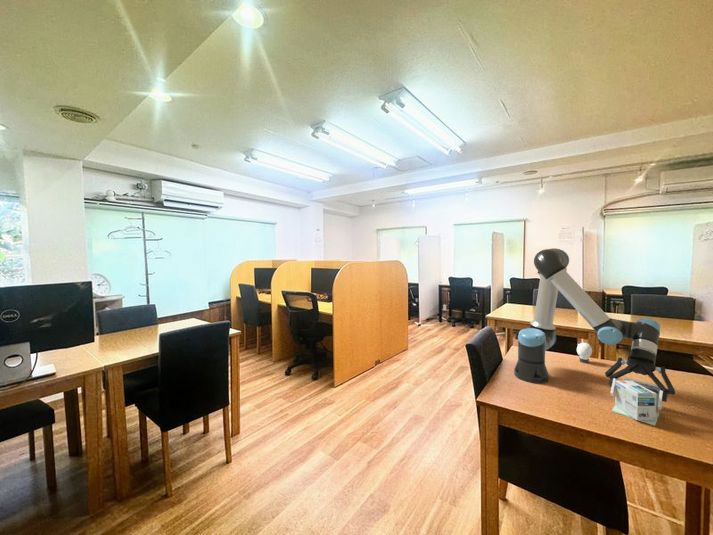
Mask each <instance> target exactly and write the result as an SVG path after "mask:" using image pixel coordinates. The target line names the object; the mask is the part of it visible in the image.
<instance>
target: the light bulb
mask: <svg viewBox="0 0 713 535" xmlns="http://www.w3.org/2000/svg"><path fill="white" fill-rule="evenodd" d="M576 352H577V355H578V356H579V362H580V363H583V364H589V362H590V357H591V356H592V354H593V349H592V346H591V345H590V344H589V343H587V342H581V343H579V344H578V345H577V347H576Z"/></svg>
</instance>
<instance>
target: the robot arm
mask: <svg viewBox="0 0 713 535" xmlns="http://www.w3.org/2000/svg"><path fill="white" fill-rule="evenodd" d="M569 263H570V257H569V255H568V253H567V252H566V251H565V250H562V249H560V248H547V249H546V248H545V249H543V250H540V251H538V252H537V253H536V254H535V256H534V259H533V265H534V266H535V269H536V270H537V275H538V276H539V284H538V289H537V297H536V303H535V311H534V317H533V320H531V321H530V322H529V326H528V327H527V328H523V329H521V330H520V331H519V332H518V336H517V347H518V348H517V356H518V357H517V362H516V364H515V366H514V368H513V371H514V372H513V374H514V376H515V377H516V378H518V379H520V380H522V381H525V382H529V383H532V384H533V383H534V384H544V383H548V382H549V381H550V380H549V379H550V374H549V371H548V369H547V366H546V351H548V350H549V349H550V348H552V347H553V346H554V345H555V344H556V341H557V335H556V328H557V327H556V325H555V324H554V319H555V312H556V306H557V302H558V301H557V300H558V294H559V292H560V293H561V295H563V297H564V298H565V299H566V301H568V303H569V304H571V306H572V307H573V308H574V309H575V310H576V312H577V313H578V314H579V315H580V316H582V318H583V319H584V320H585V321H586V322H587V324H588V325H589V327H591V328H592V329H593V330H594V331H595V333H596V334H597V336H596V337H597V339H598V340H599V341H600V342H601V343H603V344H605V345H608V346H615V345H617V344H619V343H620V342H621V341H622V340H623V339H628V340H632V341H631V342H632V343H631V348H630V352H629V357H628V359H623V358H622V357H618V358H617V361H616V362H615V363H614V364H612V366H610V367H609V368H608V369H607V370H606V371H605V372H604V375H605V378H608V379H609V381H608V386H609V387H610V396H612V397H615V388H616V380H618V379H619V378H621V377H625V376H626V375H628V374H631V373H634V374H637V375H638V374H640V375H642V376H647V377H649V378H650V379H651V380H652V381H653V383H654V385H657V386H658V387H659V388H660V393H659V400H658V409H657V410H658V411H659V410H660V411H662V410H661V407H662V405H663V403H666V402H667V401H668V395H673V396H674V395H676V390H675V388H674V386H673V384H672V382H671V381H670V378H669V377H668V375H667V373H666V367H665V366H661V367H659V366H656V360H657V352H658V345H659V340H660V334H661V324H660V323H659V322H657V321H656V320H653V319H650V318H638V319H637V320H636V322H634V321H626V320H621V319H615V318H612V317H609V316H608V315H607V313H605V311H603V309H602V308H601V307H600V306H599V305H598V304H597V303H596V302H595V301H594V300H593V298H592V297H590V295H589V294H588V293H587V292H586V291H585V290H584V289H583V288H582V286H581V285H579V283H577V281H575V279H574V278H573V277H572V276H571V275H570V274H569V273H568V272H567V269H568V268H567V267H568V266H569ZM625 364H626V365H627V366H625V367H624V368H622V369H621V370H618V369H620V368H621V367H622V366H624V365H625ZM655 371H657V372H658V374H660V375H661V377H662V380H663V381H664V384H665V385H666V386H665V385H664V384H663V383H662V382H661V380H660V379H659V378H658V377H657V376H656V375H655V374H654V372H655Z"/></svg>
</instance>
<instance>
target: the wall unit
mask: <svg viewBox="0 0 713 535" xmlns="http://www.w3.org/2000/svg"><path fill="white" fill-rule="evenodd" d="M623 381H634V382H635V383H637V384H639V385H641V386H643V387H645V388H647V389H649V390H651V391H653V392H655V393H657V396H656V410H658V400H659V393H660V388H659V387H658V386H657V385H656V384H655V383H654V384H653V383H650V382H646V381H641V380H637V379H634V378H630V377H627V376H624V379H623ZM663 409H664V408H663V406H662V407H661V410H660V411H663Z"/></svg>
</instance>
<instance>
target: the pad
mask: <svg viewBox="0 0 713 535" xmlns="http://www.w3.org/2000/svg"><path fill="white" fill-rule="evenodd" d="M611 412H612V413H615V414H618V415H621V416H623V417H626V418H627V417H628V418H630V419H632V420H635V419H634V418H633V417H631V416H630V415H629V414H627V413H626V412H624V411H623V410H621V409H620V408H618V407H617V406H615V405H614V406H613V407H612V409H611ZM659 417H660V412H658V411H656V421H644V420H638V421H639V422H642V423H645V424H648V425H651V426H656V424H657V421H658V419H659Z"/></svg>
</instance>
